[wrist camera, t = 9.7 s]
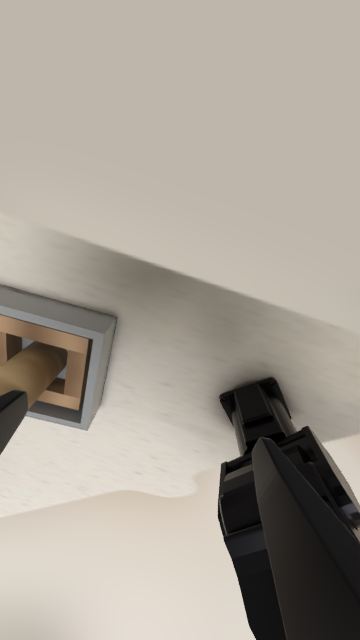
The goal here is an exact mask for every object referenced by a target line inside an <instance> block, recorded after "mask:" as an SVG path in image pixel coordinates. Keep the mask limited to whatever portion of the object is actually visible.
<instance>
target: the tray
mask: <svg viewBox="0 0 360 640" xmlns="http://www.w3.org/2000/svg"><path fill="white" fill-rule="evenodd" d="M0 314H2V315H6V316H9V317H13V318H17V319H20V320H24V321H28V322H31V323H35V324H39V325H42V326H46V327H50V328H53V329H57V330H61V331H64V332H68V333H71V334H75V335H79V336H82V337H86V338H90V339H93V345H92V351H91V358H90V365H89V371H88V378H87V385H86V391H85V398H84V403H83V404H82V406H81V408H80V409H79V410H75V409H71V408H67V407H63V406H58V405H54V404H50V403H46V402H42V401H38V400H36V401H35V402H34V403H33V405H32V406H31V407H30V408H29V409H28V411H27V414H26V415H25V416H28V417H32V418H36V419H40V420H44V421H48V422H53V423H57V424H61V425H65V426H69V427H74V428H78V429H82V430H86V431H87V430H88V428H89V427H90V425H91V423H92V421H93V419H94V417H95V415H96V413H97V411H98V409H99V407H100V404H101V399H102V393H103V388H104V383H105V378H106V373H107V368H108V362H109V357H110V352H111V347H112V342H113V337H114V332H115V326H116V321H117V318H116V317H113V316H109V315H106V314H102V313H99V312H95V311H92V310H88V309H85V308H81V307H77V306H74V305H70V304H67V303H63V302H60V301H56V300H53V299H49V298H46V297H42V296H39V295H35V294H32V293H28V292H25V291H21V290H18V289H14V288H11V287H7V286H4V285H0ZM32 342H34V340H30V339H27V338H23V337H22V350H23V349H24V348H26V347H27V346H28V345H30V344H31V343H32ZM66 350H67V352H68V349H66ZM66 367H67V366H66ZM66 367H65V368H64V369H63V370H62V371H61V372H60V374H59V375H58V376H57V378H61V379H65V377H66Z"/></svg>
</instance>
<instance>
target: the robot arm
mask: <svg viewBox="0 0 360 640" xmlns="http://www.w3.org/2000/svg"><path fill="white" fill-rule="evenodd" d="M272 382H273V383H272ZM219 399H220V402H221V404H222V406H223V408H224V410H225V412H226V413H227V415H228V417H229V419H230V421H231V423H232V425H233V426H234V429H235V433H236V438H237V442H238V447H239V451H240V455H241V457H238V458H236V459H234V460H232V461H229V462H224V463H222V464H221V473H220V486H219V498H218V519H219V522H220V527H221V530H222V534H223V536H224V542H225V544H226V547H227V549H228V551H229V554H230V556H231V558H232V561H233V565H234V568H235V571H236V574H237V577H238V581H239V585H240V589H241V593H242V597H243V602H244V606H245V610H246V614H247V619H248V623H249V626H250V629H251V630H252V632H253V634H254V636H255V638H256V640H360V505H359V503H358V501H357V499H356V497H355V496H354V493H353V491H352V489H351V487H350V485H349V484H348V482H347V481H346V479H345V477H344V476H343V474H342V473H341V471H340V470H339V468H338V467H337V465H336V464H335V462H334V460H333V459H332V457H331V456H330V455H329V453H328V452H327V450H326V449H325V448H324V447H323V445H322V444H321V442H320V441H319V440H318V438H317V437H316V436H315V434H314V433H313V432H312V430H311V429H310V428H309V426H306V427H304V428H302V430H300V431H298V432H297V431H296V429H295V427H294V425H293V423H292V422H291V416H290V413H289V411H288V408H287V406H286V403H285V400H284V398H283V395H282V393H281V390H280V388H279V385H278V383H277V381H276V379H274V378H269V379H266V380H263V381H260V382H258V383H255V384H252V385H249V386H246V387H243V388H240V389H237V390H234V391H231V392H228V393H225V394H222V395H221V396H220V397H219ZM27 411H28V395H27V392H26V391H22V390H16V389H15V390H11V391H9V392H7V393H5V394H3V395H1V396H0V455H1V453H2V452H3V450H4V449H5V447H6V445H7V444H8V442H9V441H10V439H11V437H12V436H13V434H14V433H15V431H16V429H17V428H18V426H19V425H20V423H21V422H22V420H23V418H24V417H25V415H26V414H27Z"/></svg>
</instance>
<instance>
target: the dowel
mask: <svg viewBox="0 0 360 640" xmlns="http://www.w3.org/2000/svg"><path fill="white" fill-rule="evenodd" d="M67 357H68V352H67V350H66V349H64V348H60V347H56V346H53V345H49V344H45V343H42V342H38V341H34V342H32V343H31V344H30V345H28V346H27V347H26V348H24V349H23V350H22V351H20V352H19V353H18V354H16V355H15V356H14V357H12V358H11V359H10V360H8V361H7V362H6V363H4V364H3V365H2V366H0V396H1V395H3V394H5V393H7V392H9V391H11V390H15V389H16V390H22V391H26V392H27V395H28V409H29V408H30V407H31V406H32V405H33V403H34V402H35V401H36V400H37V399H38V398H39V397H40V395H41V394H42V393H43V392H44V391H45V390H46V388H47V387H48V386H49V385H50V384H51V383H52V382H53V380H54V379H55V378H56V377H57V376H58V375H59V374H60V372H61V371H62V370H63V369H64V368H65V367H66V366H67Z"/></svg>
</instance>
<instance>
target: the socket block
mask: <svg viewBox="0 0 360 640" xmlns="http://www.w3.org/2000/svg"><path fill="white" fill-rule="evenodd" d="M22 337H23V338H27V339H30V340H34V341H38V342H42V343H45V344H49V345H53V346H56V347H60V348H64V349H68V357H67V367H66V377H65V379H61V378H57V377H56V378H55V379H54V380H53V382H52V383H51V384H50V385H49V386H48V387H47V388H46V390H45V391H44V392H43V393H42V394H41V395H40V397H39V398H38V399H37V400H38V401H42V402H46V403H50V404H54V405H58V406H63V407H67V408H71V409H75V410H79V409H80V408H81V406H82V404H83V403H84V398H85V391H86V385H87V378H88V371H89V365H90V358H91V351H92V345H93V339H90V338H86V337H82V336H79V335H75V334H71V333H68V332H64V331H61V330H57V329H53V328H50V327H46V326H42V325H39V324H35V323H31V322H28V321H24V320H20V319H17V318H13V317H9V316H6V315H2V314H0V366H2V365H3V364H4V363H6V362H7V361H8V360H10V359H11V358H12V357H14V356H15V355H16V354H18V353H19V352H20V351H22Z"/></svg>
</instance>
